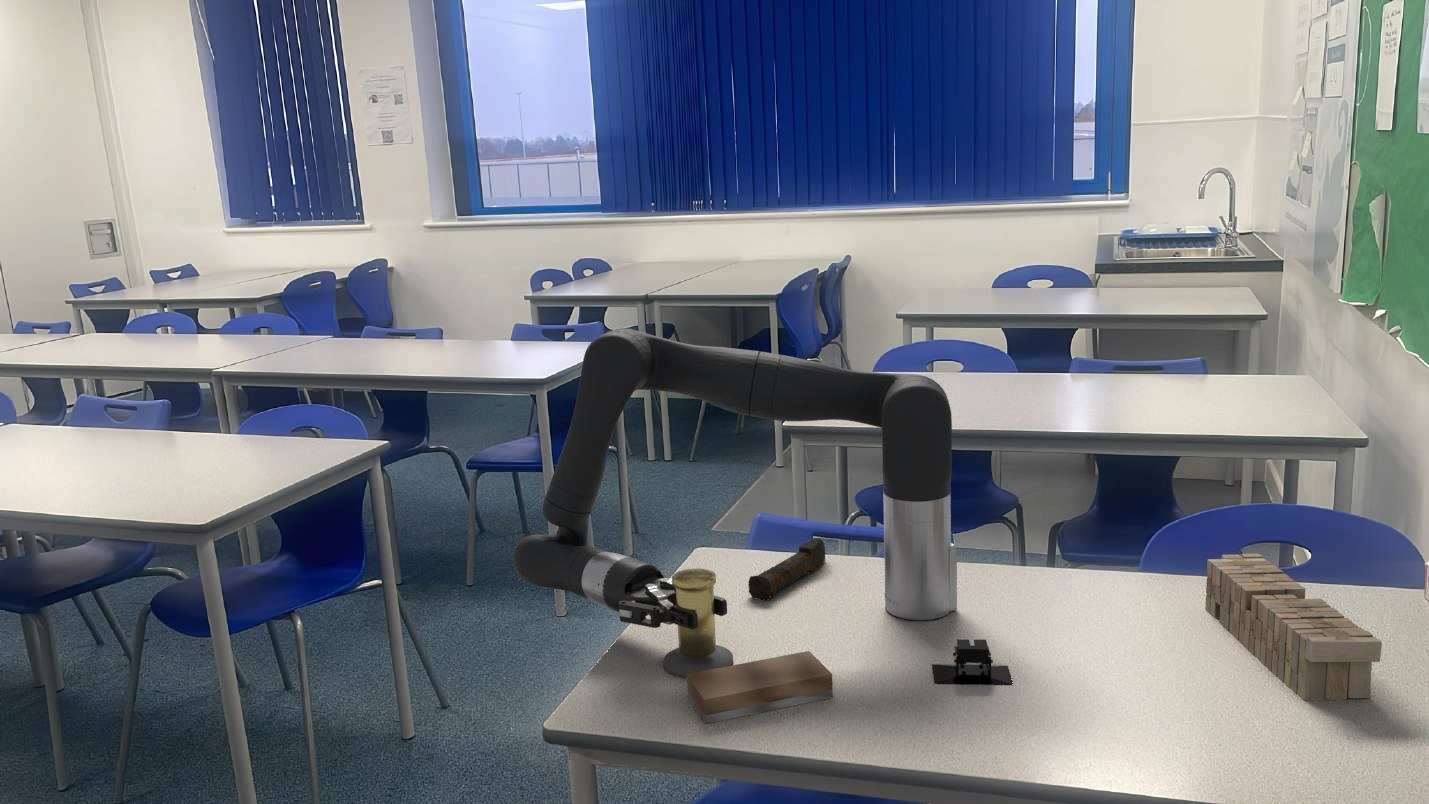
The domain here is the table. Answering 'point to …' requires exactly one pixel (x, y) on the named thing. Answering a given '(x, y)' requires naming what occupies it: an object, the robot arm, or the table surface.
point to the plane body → (759, 686)
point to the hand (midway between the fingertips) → (710, 614)
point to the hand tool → (788, 570)
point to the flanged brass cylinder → (697, 597)
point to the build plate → (971, 667)
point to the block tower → (1290, 629)
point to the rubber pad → (696, 662)
